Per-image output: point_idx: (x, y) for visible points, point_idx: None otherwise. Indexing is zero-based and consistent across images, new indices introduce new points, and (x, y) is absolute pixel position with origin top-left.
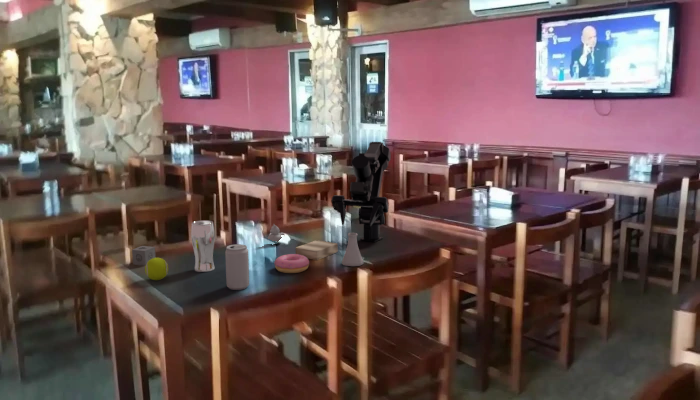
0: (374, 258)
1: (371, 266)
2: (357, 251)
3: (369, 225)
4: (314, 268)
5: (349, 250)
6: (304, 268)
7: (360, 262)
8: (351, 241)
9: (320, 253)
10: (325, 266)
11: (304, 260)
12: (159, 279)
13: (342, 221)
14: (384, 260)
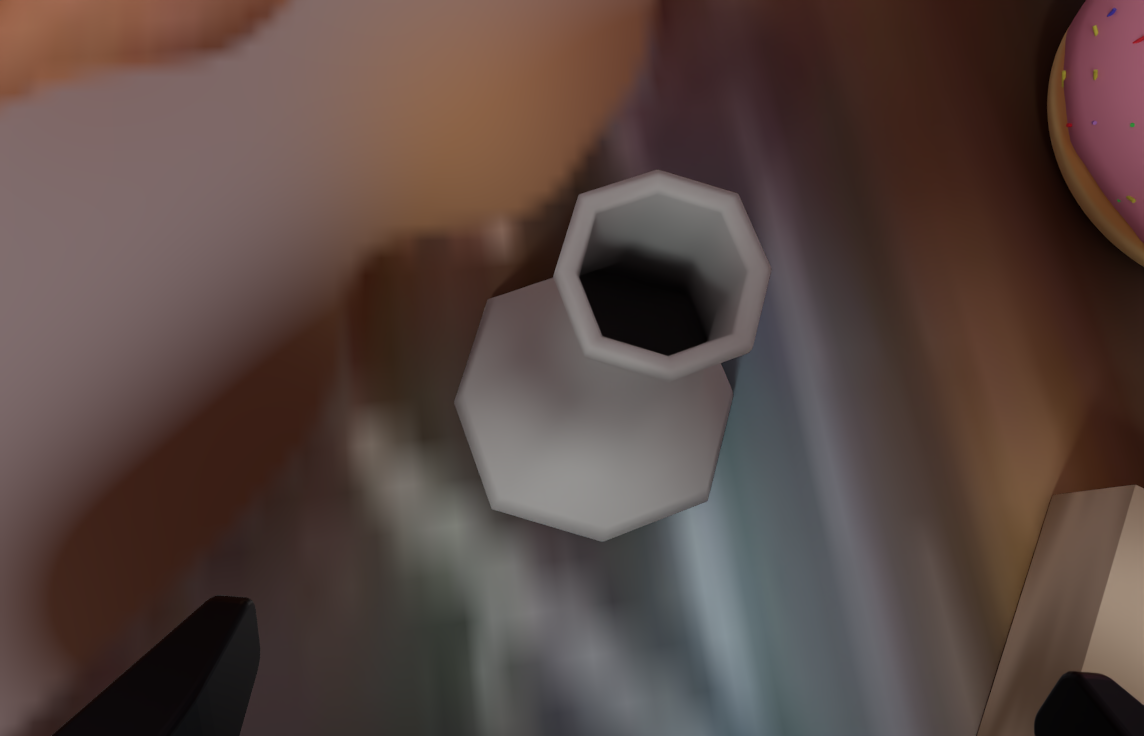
0: (326, 686)
1: (351, 313)
2: (533, 295)
3: (251, 615)
4: (980, 179)
5: (654, 275)
6: (1063, 37)
7: (488, 318)
8: (650, 242)
9: (1078, 562)
10: (885, 260)
11: (1132, 23)
12: None
13: (1125, 711)
14: (182, 602)
